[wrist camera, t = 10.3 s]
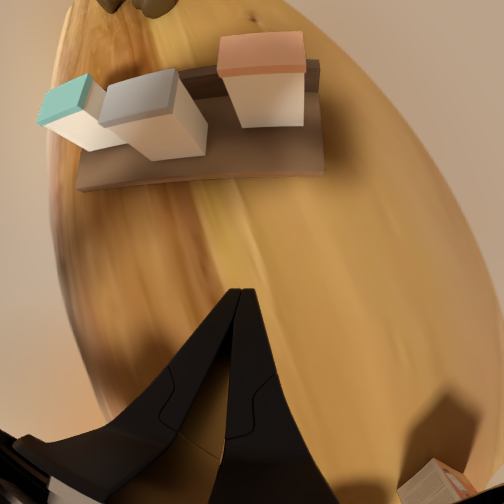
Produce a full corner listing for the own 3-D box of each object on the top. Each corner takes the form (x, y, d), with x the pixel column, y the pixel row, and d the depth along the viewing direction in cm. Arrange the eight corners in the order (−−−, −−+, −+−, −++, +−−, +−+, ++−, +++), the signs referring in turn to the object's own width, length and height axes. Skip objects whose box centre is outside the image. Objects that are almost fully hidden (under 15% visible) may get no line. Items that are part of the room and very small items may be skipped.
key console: (323, 176, 23) (329, 152, 18) (83, 192, 26) (52, 180, 21) (316, 93, 23) (318, 59, 18) (97, 121, 27) (71, 103, 22)
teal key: (128, 144, 24) (77, 105, 16) (88, 152, 24) (36, 123, 17) (133, 115, 24) (88, 73, 16) (94, 125, 25) (46, 92, 17)
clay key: (304, 127, 21) (306, 64, 13) (241, 129, 22) (216, 70, 14) (302, 96, 22) (301, 31, 14) (242, 98, 22) (220, 37, 14)
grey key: (206, 156, 22) (167, 107, 14) (150, 162, 23) (97, 123, 15) (209, 123, 23) (175, 67, 15) (155, 130, 23) (108, 85, 15)
